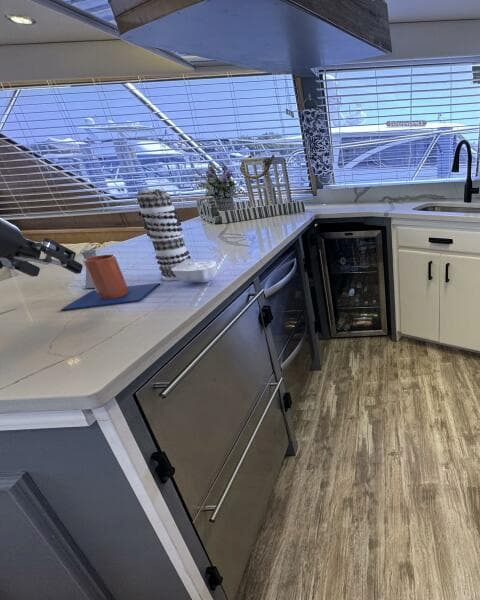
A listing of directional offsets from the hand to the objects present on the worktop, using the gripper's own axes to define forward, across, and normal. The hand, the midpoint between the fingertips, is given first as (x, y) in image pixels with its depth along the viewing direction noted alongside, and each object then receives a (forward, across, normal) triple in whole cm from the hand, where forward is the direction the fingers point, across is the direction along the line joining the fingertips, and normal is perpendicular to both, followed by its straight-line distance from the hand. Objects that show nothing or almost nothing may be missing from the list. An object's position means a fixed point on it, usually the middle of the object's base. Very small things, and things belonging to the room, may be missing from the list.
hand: (58, 271), depth 69 cm
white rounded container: (+21, -18, -5) cm, 28 cm away
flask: (+24, +11, -8) cm, 27 cm away
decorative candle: (+26, -9, -11) cm, 30 cm away
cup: (+15, 0, -1) cm, 15 cm away
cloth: (+16, 0, -1) cm, 16 cm away
